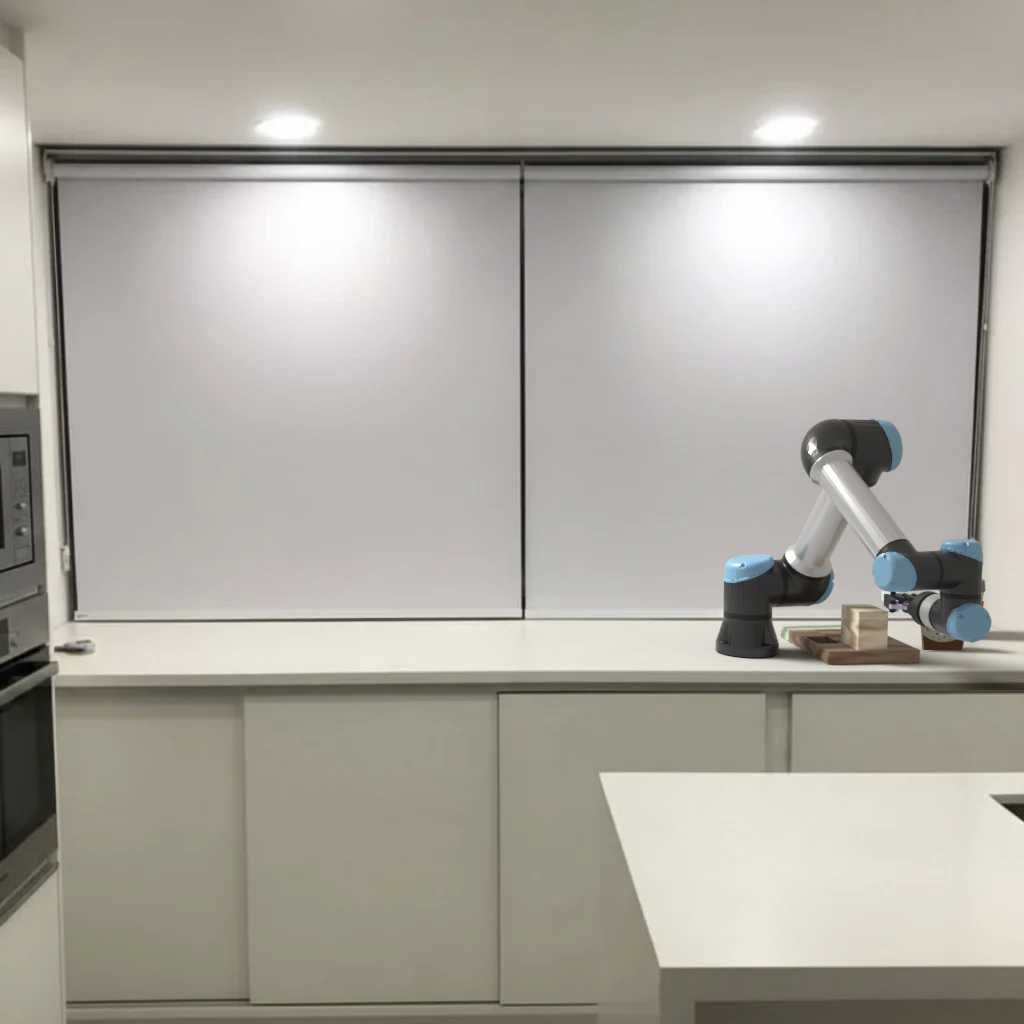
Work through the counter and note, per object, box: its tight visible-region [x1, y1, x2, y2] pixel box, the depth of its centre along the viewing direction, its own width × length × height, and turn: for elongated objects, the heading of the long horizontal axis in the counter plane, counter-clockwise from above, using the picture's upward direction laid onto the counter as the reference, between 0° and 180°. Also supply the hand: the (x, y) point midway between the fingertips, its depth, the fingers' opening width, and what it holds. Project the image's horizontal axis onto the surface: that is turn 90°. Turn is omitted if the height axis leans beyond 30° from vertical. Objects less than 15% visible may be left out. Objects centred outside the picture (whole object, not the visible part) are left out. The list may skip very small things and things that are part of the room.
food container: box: [920, 626, 965, 652], centre depth 260 cm, size 12×6×10 cm, turn 84°
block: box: [840, 603, 889, 650], centre depth 249 cm, size 10×7×9 cm
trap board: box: [780, 623, 921, 665], centre depth 260 cm, size 32×22×3 cm
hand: (884, 594), depth 239 cm, fingers closed
